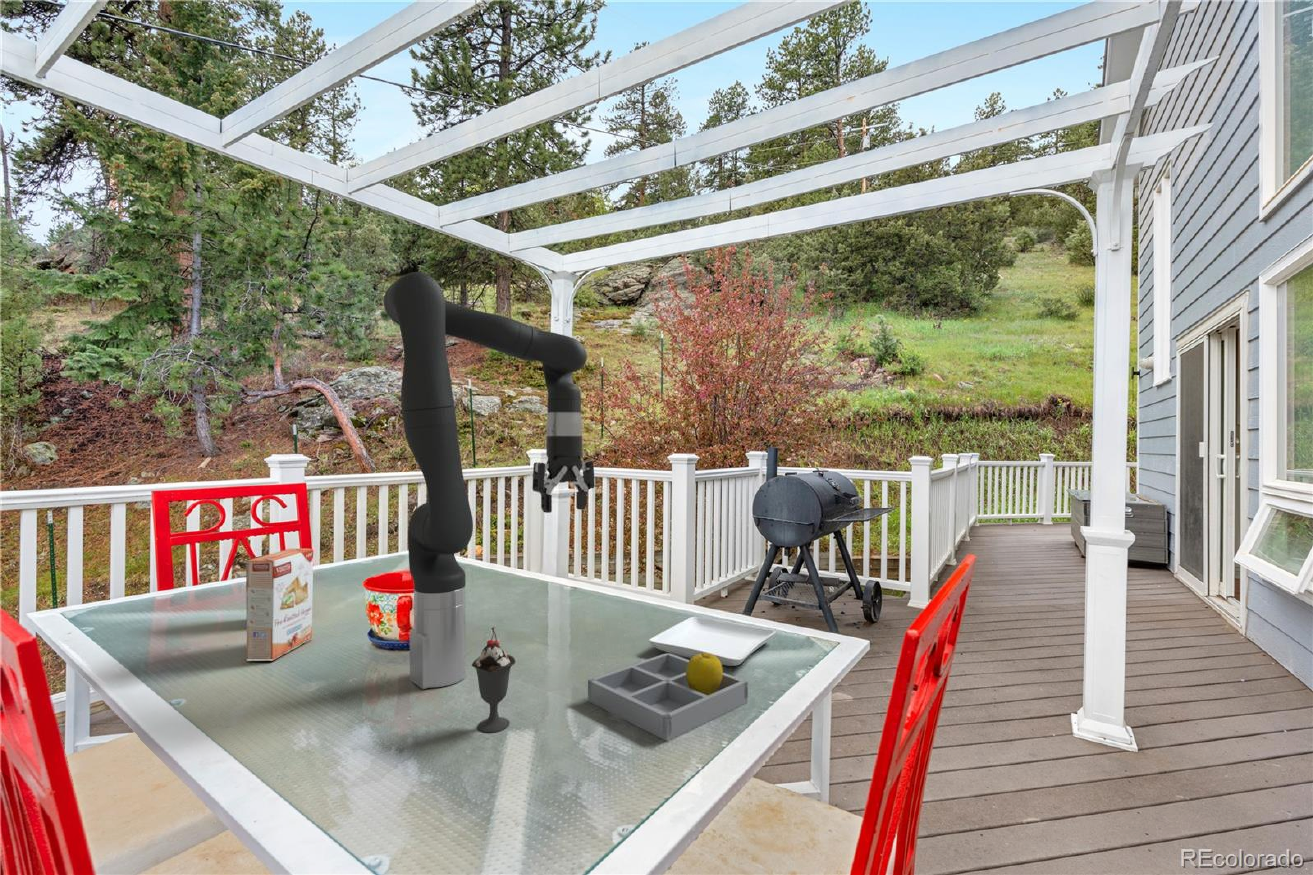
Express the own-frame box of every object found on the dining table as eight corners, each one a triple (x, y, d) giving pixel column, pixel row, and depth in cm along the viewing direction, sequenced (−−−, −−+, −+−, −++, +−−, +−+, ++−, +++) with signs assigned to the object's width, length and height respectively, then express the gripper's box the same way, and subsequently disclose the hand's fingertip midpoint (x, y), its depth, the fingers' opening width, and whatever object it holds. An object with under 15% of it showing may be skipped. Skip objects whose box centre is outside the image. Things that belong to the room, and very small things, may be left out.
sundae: (498, 712, 101) (498, 621, 101) (523, 724, 97) (523, 629, 97) (463, 726, 96) (463, 631, 96) (488, 740, 92) (488, 640, 92)
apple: (693, 706, 101) (693, 658, 101) (680, 691, 107) (680, 646, 107) (728, 702, 103) (728, 655, 103) (714, 687, 109) (714, 642, 109)
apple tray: (667, 741, 91) (667, 717, 91) (588, 700, 105) (587, 680, 105) (747, 702, 105) (747, 681, 105) (667, 670, 119) (667, 652, 119)
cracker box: (274, 663, 123) (274, 560, 123) (245, 663, 123) (245, 559, 123) (314, 640, 137) (314, 547, 137) (288, 640, 137) (288, 547, 137)
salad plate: (777, 644, 136) (777, 628, 136) (740, 676, 117) (740, 658, 117) (692, 628, 146) (692, 614, 146) (646, 656, 128) (646, 640, 128)
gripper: (545, 434, 121) (545, 515, 121) (601, 434, 131) (601, 509, 131) (525, 434, 127) (525, 512, 127) (580, 434, 137) (581, 506, 137)
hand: (564, 510), depth 129 cm, fingers open, 8 cm apart
